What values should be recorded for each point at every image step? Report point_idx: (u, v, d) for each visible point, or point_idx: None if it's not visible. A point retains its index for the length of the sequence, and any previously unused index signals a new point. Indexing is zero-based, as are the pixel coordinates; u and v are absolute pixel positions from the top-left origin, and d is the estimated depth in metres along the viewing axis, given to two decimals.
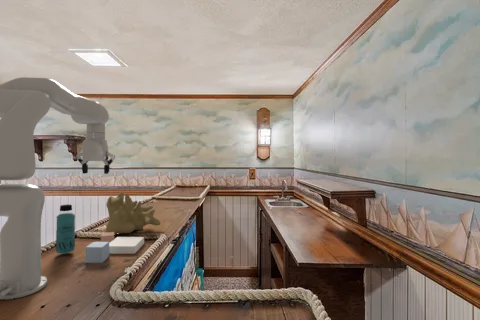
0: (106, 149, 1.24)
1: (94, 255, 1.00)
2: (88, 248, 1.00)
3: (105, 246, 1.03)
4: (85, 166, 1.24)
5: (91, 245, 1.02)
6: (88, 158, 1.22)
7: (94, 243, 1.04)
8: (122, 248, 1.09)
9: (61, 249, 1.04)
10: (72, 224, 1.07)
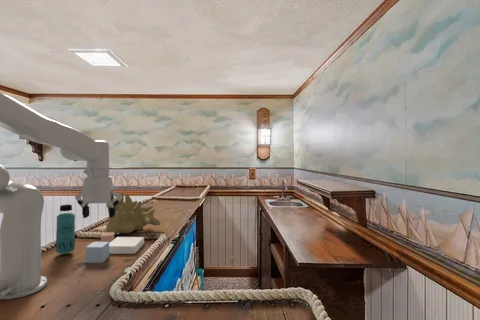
0: (111, 188, 1.02)
1: (94, 255, 1.00)
2: (88, 248, 1.00)
3: (105, 246, 1.03)
4: (86, 209, 1.02)
5: (91, 245, 1.02)
6: (89, 200, 1.00)
7: (94, 243, 1.04)
8: (122, 248, 1.09)
9: (61, 249, 1.04)
10: (72, 224, 1.07)
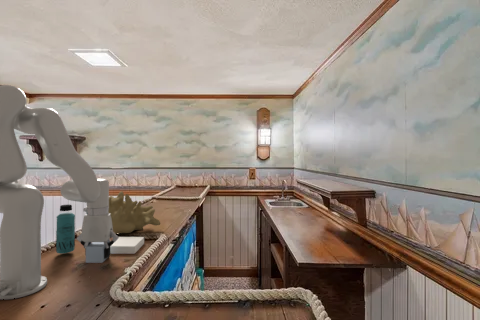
0: (110, 226, 1.03)
1: (94, 255, 1.00)
2: (88, 248, 1.00)
3: None
4: None
5: (91, 245, 1.02)
6: (89, 239, 1.00)
7: (94, 243, 1.04)
8: (122, 248, 1.09)
9: (61, 249, 1.04)
10: (72, 224, 1.07)
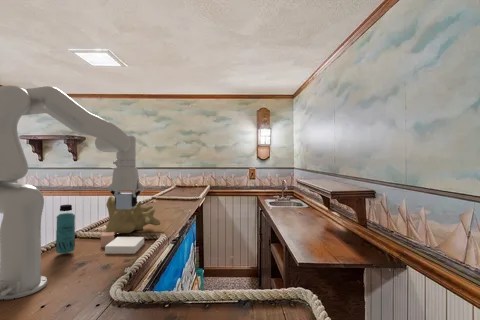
0: (137, 178, 1.14)
1: (123, 202, 1.12)
2: (118, 196, 1.12)
3: (132, 195, 1.15)
4: None
5: (120, 194, 1.14)
6: (118, 188, 1.12)
7: (122, 193, 1.16)
8: (122, 248, 1.09)
9: (61, 249, 1.04)
10: (72, 224, 1.07)
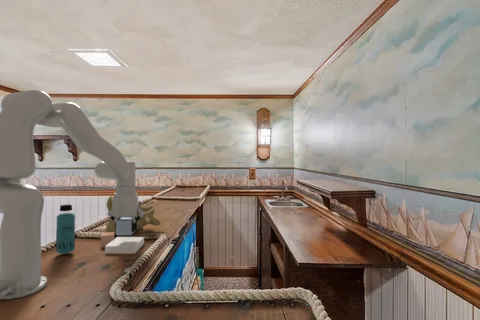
0: (137, 203, 1.15)
1: (123, 228, 1.12)
2: (118, 222, 1.12)
3: (132, 221, 1.15)
4: None
5: (120, 219, 1.14)
6: (118, 214, 1.12)
7: (122, 218, 1.16)
8: (122, 248, 1.09)
9: (61, 249, 1.04)
10: (72, 224, 1.07)
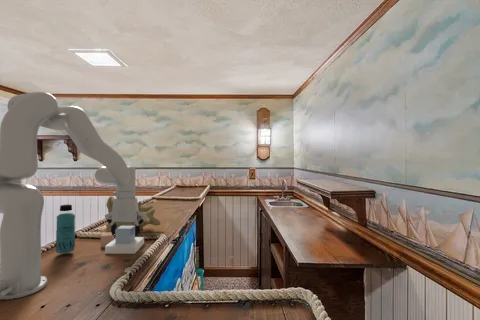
0: (137, 208, 1.15)
1: (123, 237, 1.12)
2: (117, 230, 1.12)
3: (132, 229, 1.15)
4: (114, 227, 1.14)
5: (120, 228, 1.14)
6: (118, 219, 1.12)
7: (122, 226, 1.16)
8: (122, 248, 1.09)
9: (61, 249, 1.04)
10: (72, 224, 1.07)
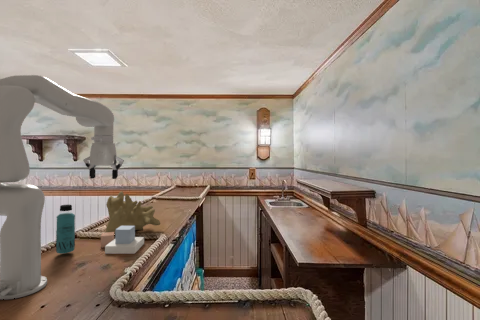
0: (114, 153, 1.18)
1: (123, 237, 1.12)
2: (117, 230, 1.12)
3: (132, 229, 1.15)
4: (93, 171, 1.18)
5: (120, 228, 1.14)
6: (96, 162, 1.16)
7: (122, 226, 1.16)
8: (122, 248, 1.09)
9: (61, 249, 1.04)
10: (72, 224, 1.07)
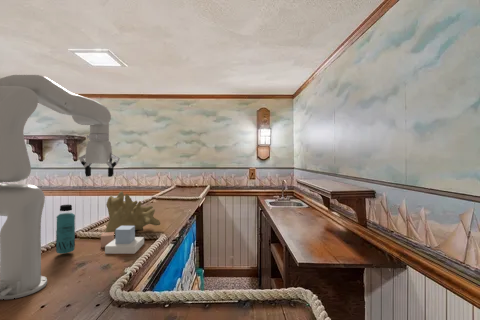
0: (110, 151, 1.19)
1: (123, 237, 1.12)
2: (117, 230, 1.12)
3: (132, 229, 1.15)
4: (88, 169, 1.19)
5: (120, 228, 1.14)
6: (91, 160, 1.17)
7: (122, 226, 1.16)
8: (122, 248, 1.09)
9: (61, 249, 1.04)
10: (72, 224, 1.07)
